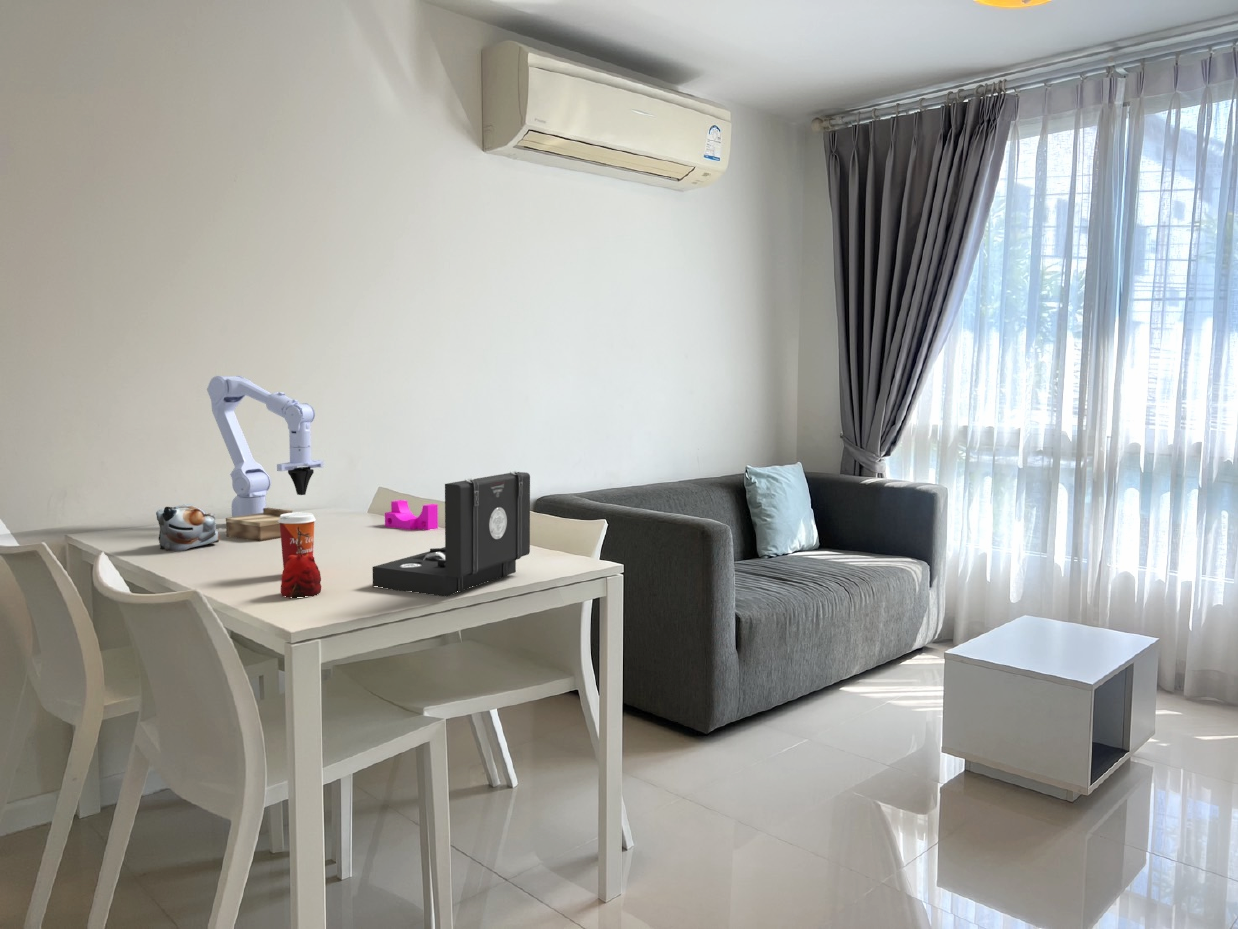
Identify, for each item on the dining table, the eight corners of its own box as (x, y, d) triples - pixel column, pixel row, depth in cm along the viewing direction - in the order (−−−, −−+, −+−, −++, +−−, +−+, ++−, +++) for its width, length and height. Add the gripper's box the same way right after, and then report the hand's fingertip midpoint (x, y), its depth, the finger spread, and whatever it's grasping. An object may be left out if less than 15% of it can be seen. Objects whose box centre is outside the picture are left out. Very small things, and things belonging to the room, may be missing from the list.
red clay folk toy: (323, 594, 184) (322, 521, 182) (318, 603, 177) (316, 526, 175) (284, 595, 182) (282, 521, 181) (276, 604, 176) (275, 527, 174)
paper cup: (295, 584, 192) (293, 518, 191) (271, 579, 196) (270, 515, 195) (325, 577, 199) (323, 513, 197) (301, 573, 203) (300, 510, 201)
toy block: (384, 528, 264) (384, 502, 264) (401, 525, 270) (400, 500, 269) (421, 533, 256) (421, 507, 255) (437, 530, 261) (437, 504, 260)
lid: (225, 521, 245) (225, 512, 245) (263, 516, 255) (263, 507, 255) (260, 526, 238) (259, 517, 238) (297, 520, 248) (297, 511, 248)
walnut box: (226, 536, 246) (226, 522, 245) (264, 530, 256) (263, 516, 256) (260, 542, 239) (260, 527, 238) (298, 535, 249) (297, 521, 248)
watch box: (427, 567, 212) (427, 462, 210) (531, 580, 200) (532, 469, 198) (350, 590, 189) (348, 473, 187) (463, 606, 177) (462, 481, 175)
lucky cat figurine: (229, 538, 237) (224, 491, 231) (211, 564, 226) (205, 516, 220) (170, 533, 236) (163, 486, 230) (149, 559, 226) (141, 510, 219)
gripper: (288, 449, 249) (289, 498, 250) (330, 445, 261) (331, 493, 262) (271, 447, 252) (272, 496, 254) (313, 444, 265) (314, 491, 266)
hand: (301, 494), depth 258 cm, fingers closed
